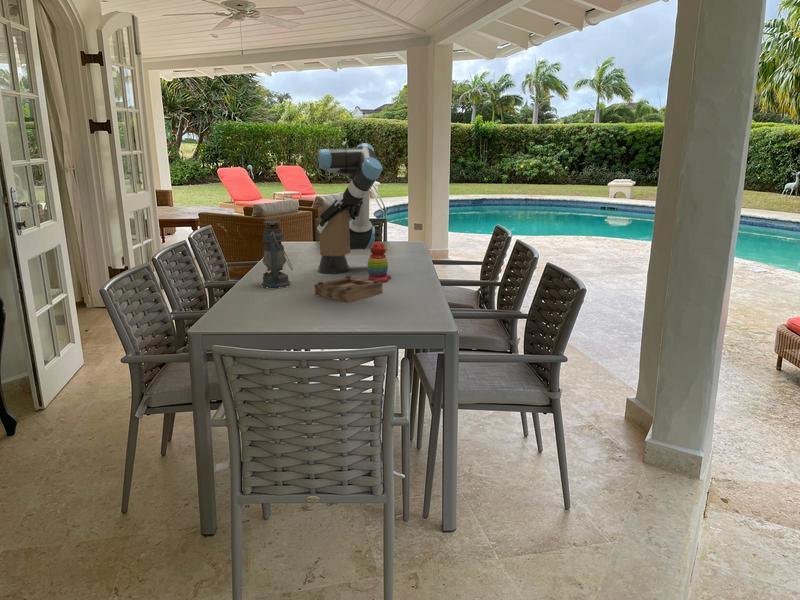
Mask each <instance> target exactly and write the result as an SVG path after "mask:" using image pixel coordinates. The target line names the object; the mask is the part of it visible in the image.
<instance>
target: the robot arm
mask: <svg viewBox="0 0 800 600" xmlns="http://www.w3.org/2000/svg"><path fill="white" fill-rule="evenodd" d="M317 153H318V167H319V169H321V170H325V171H326V172H328V173H332V174H335V175H347V178H348V179H349V180H350V182H349V184H348V185H347V187H346V189H345V190H344V192H343V193H342V199H340V201H338V199H336V200H334V202H333V203H332V204H330V205H331V206H330V207H329V208H328V209H327V210H326V211H325V212H324V213H322V214H321V215H320V218H321V219H322V220H321V222H320V223H319V222H318V225H317V227H316V229H317V231H318V233H319V232H320V233H322V231H323V230H324V228H325V227H326V225H327V224H328V221H329V220H330V219H331V218H333V217H334V216H336V215H337V214H338V213H342V212H343V211H345V210H349V230H350V251H352V250H353V251H354V250H363V251H365V250H369V249H370V247H371V245H372V244H373V243H375V238H376V235H375V234H376V227H375V226H374V225H373V224H372V222H371V221H370V195H371V194H370V189H372V187H373V185H374V183H376V181H377V179H379V177H380V175H381V173H382V171H383V169H384V168H383V165H382V164H381V162H380V161H379V160H378V159H376V153H375V150H374V147H373V145H371V144H370V143H367V142H363V143H360V144H358V145H357V146H356V147H338V148H322V149H321V148H320V149H319V150H318V152H317ZM340 208H341V209H342V210H340ZM370 250H371V249H370ZM349 271H350V265H349V264H348V261H347V257H346V255H343V256H341V257H340V256H322V255H321V256H320V262H319V265H318V272H319V273H322V274H342V273H346V272H349Z"/></svg>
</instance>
